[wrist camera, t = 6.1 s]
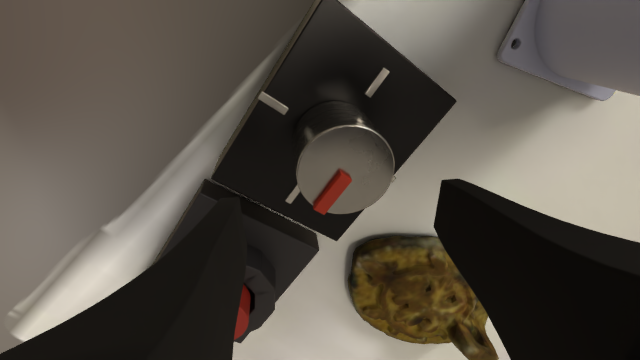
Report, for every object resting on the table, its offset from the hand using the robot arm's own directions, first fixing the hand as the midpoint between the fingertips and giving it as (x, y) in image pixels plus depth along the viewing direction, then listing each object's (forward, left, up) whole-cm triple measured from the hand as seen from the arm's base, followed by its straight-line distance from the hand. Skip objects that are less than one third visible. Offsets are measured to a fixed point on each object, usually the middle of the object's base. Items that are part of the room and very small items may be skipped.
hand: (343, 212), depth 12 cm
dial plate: (-1, 0, -8) cm, 8 cm away
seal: (+10, +12, -8) cm, 17 cm away
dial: (-1, 0, -5) cm, 5 cm away
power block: (+10, -3, -8) cm, 13 cm away
